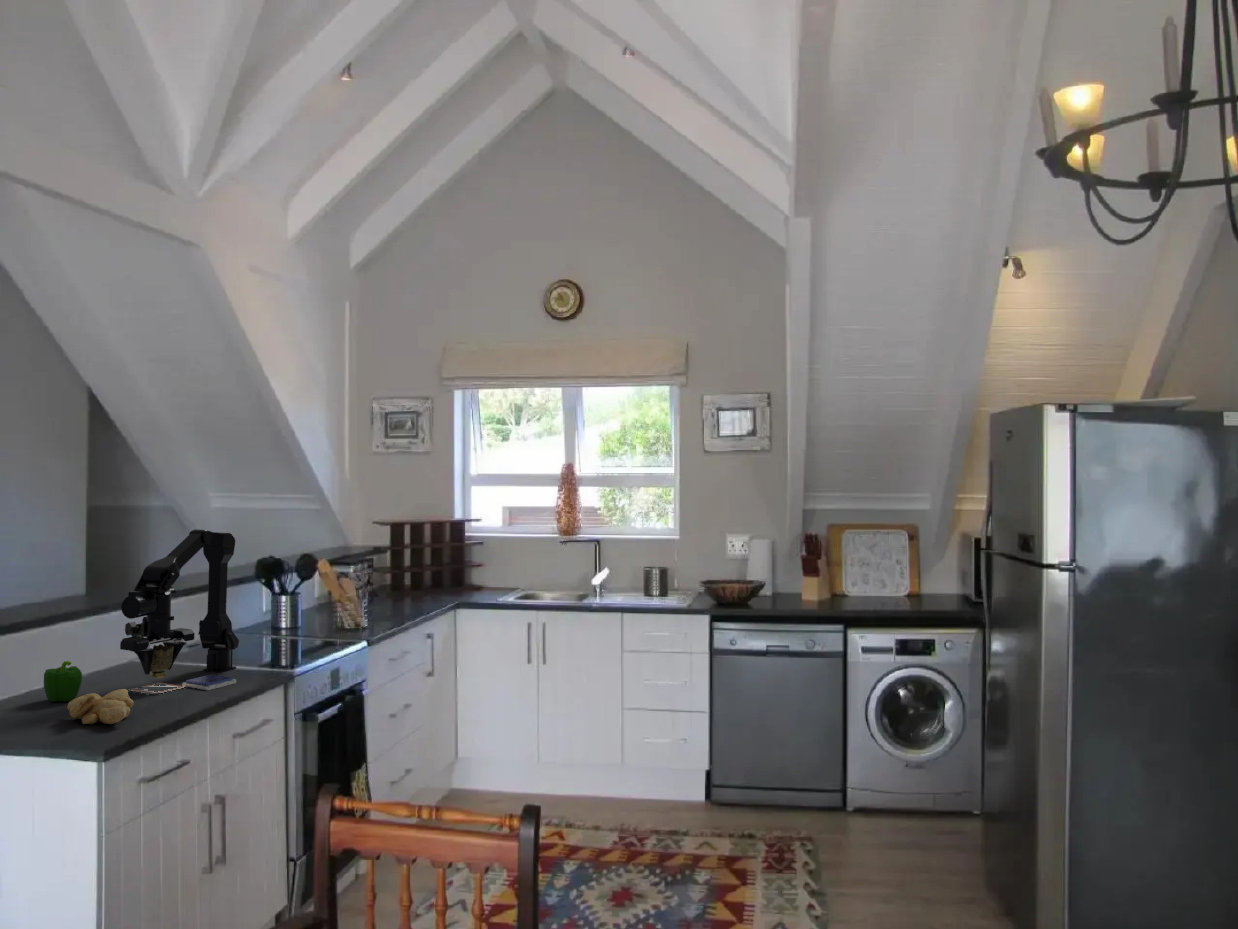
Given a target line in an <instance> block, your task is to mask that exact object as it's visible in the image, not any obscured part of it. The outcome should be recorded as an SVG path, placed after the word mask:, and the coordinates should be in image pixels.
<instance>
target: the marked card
mask: <svg viewBox="0 0 1238 929" xmlns="http://www.w3.org/2000/svg"><path fill="white" fill-rule="evenodd" d="M158 683H159V684H165V685H166V686H160V685H159V686H154V685H155V683H151V684H152V685H151V684H148V685H144V686H143V685H142V687H177V688H173V689H168V690H164V691H158V692H154V691H148V689H144V690H135V689H138V687H135V689H134V688H131V691H136V692H141V693H140V694H142V693H163V694H165V693H164V692H167V691H171V692H173V691H172V690H176V689H180V690H182V689H181V688H184V686H183V685H176V684H172V683H171V684H169V683H163V682H156V684H158ZM184 689H185V688H184ZM176 691H177V690H176ZM136 692H135V693H136ZM167 693H168V692H167Z"/></svg>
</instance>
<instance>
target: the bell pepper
mask: <svg viewBox="0 0 1238 929" xmlns="http://www.w3.org/2000/svg"><path fill="white" fill-rule="evenodd" d="M71 664H72V662H71V661H70V660H66V661H63V662H62V663H61V666H59V667H57V668H47V669H45V671H44V673H43V687H44V693H45V696H46V699H47V700H48V701H50V702H51V703H52V702H56V703H57V701H58V702H71V701H72V700H73V699H76V698H77V696H78V695H79V692H80V689H81V686H82V682H83V681H82V680H83V673H82V671H81V669H79V667H78V666H77V665H71ZM67 666H69V667H67Z"/></svg>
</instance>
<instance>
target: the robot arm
mask: <svg viewBox="0 0 1238 929" xmlns="http://www.w3.org/2000/svg"><path fill="white" fill-rule="evenodd" d="M235 547H236V538H235V536H233V534H232V533H231V532H217V531H216V532H215V531H211V530H208V529H193V530H191V531H190V532H189V533H188V535H187V536H186V537H185V538H184V539H183V540H182V541H181V542H180V543H179V544H178V545H177V546H176V547H174V549H173V550H172V551H171V552H169V553H168V554H167V555H166V556H165V557H162V558H160V559H158V560H155V561H152V562H151V563H150V564H148V565H147V566H145V568H144V569H143V572H142V574H141V576H140V578H139V580H138V582H137V583H136V585H135V587H134V589H133V590H130V591H128V592H127V593H128V596H127V597H125V598H124V599H123V601H122V603H121V606H120V609H121V613H122V615H123V616H124V617H125V618H127V619H129V620H132V619H136V618H140V617H142V622H140V623H136V622H135V621H131V622H127V623H125V625H124V634H125V635H126V636H128V637H124V638H122V639H121V641H120V643H119V644H120V645H119V646H120V648H119V650H123V651H129V652H133V653H134V654H136V656H137V658H138V660H139V661H140V665H141V667H142V670H143V672H144V674H145V675H150V674H151V672H150V670H151V664H152V658H153V652H154V649H153V648H152V649H150V648H151V645H153V644H154V645H156V644H159V643H160V644H161V643H162V645H163V646H166V645H167V646H168V647H169V646H170V645H171V646H174V648H173V649H174V650H173V658H172V663H171V666H170V667H169V669H167V670H166V671H170V670H171V669H172V668H173V665H174V663H175V661H176V659H177V657H178V656H179V654H180V652H181V650H182V649H183V647H184V646H186V645H187V642H189V641H194V640H195V632H194V630H193V629H192V628H183V627H178V628H172V627H171V624H172V623H171V622H172V621H174V620H175V616H174V615H172V614H171V612H172V608H171V607H172V595H175V594H177V592H178V591H177V590H176V589H175V588H173V587H172V586H174V584H175V583H176V581H177V580H178V579H179V577H180V576H181V575H180V573H181V570H182V569H183V567H184V566H185V565H187V563H188V562H189V561H190V560H192V559H193V557H194V556H195V555H196V554H198V552H200V550H201V549H202V553H203V556H204V557H205V559H206V560H207V563H208V578H207V579H208V580H207V581H208V582H207V583H208V586H207V587H208V589H207V611H206V612H207V613H206V616H204V618H203V620H202V619H201V620H199V622H198V626H199V628H198V635H199V640H200V642H201V647H202V649H204V650H205V649H207V654H206V667H204V668H203V671H208V672H215V673H221V672H225V671H230V670H234V669H237V666H236V665H235V666H234V665H233V650H236V649H237V648H238V647H239V643H240V639H239V638H238V637H237V636H236V634H235V633H234V632H233V625H232V621H231V619H230V617H229V616H228V614H227V598H228V596H227V594H228V593H227V592H228V565H229V564H228V563H229V562H230V561H231V559H232V558H233V556H234V554H235ZM171 628H172V629H171ZM129 636H130V637H129Z"/></svg>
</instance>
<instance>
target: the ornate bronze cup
mask: <svg viewBox="0 0 1238 929" xmlns="http://www.w3.org/2000/svg"><path fill="white" fill-rule="evenodd" d="M173 648H174V646H171V645H170V646H169V647H168V646H167V645H166V646H164V644H161V643H160V644H158V645H156V644H154V645H153V647H150V649H154V652H153V658H152V664H151V670H150V677H151V678H153V679H161V678H164V677H166V675H167V672H166V671H168V670H167V669H169V667H170V666H171V663H172V658H173V650H174V649H173Z"/></svg>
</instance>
